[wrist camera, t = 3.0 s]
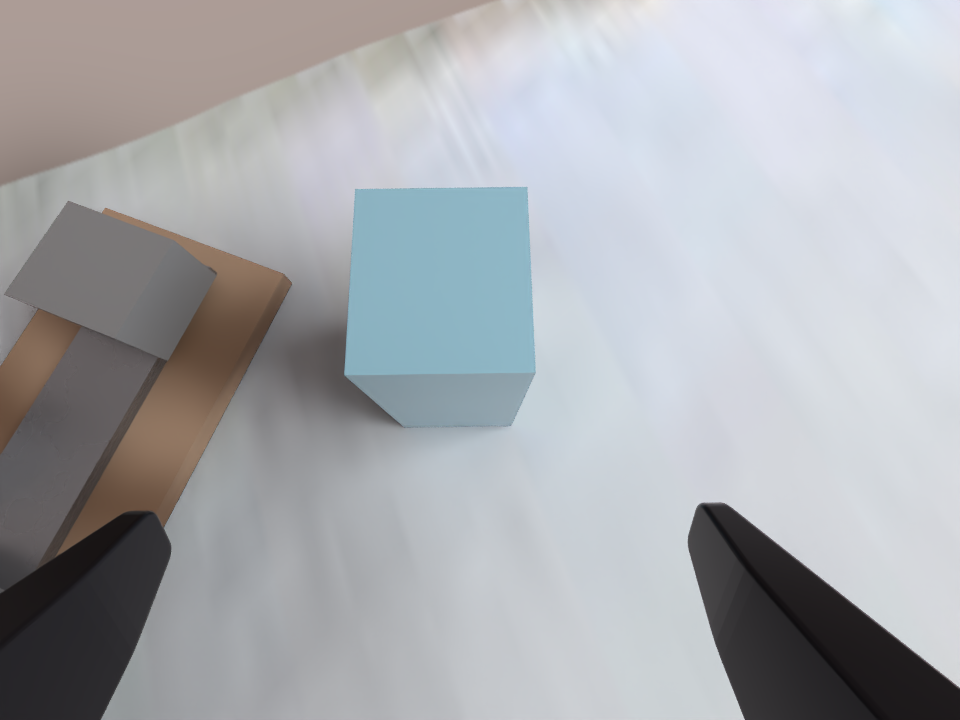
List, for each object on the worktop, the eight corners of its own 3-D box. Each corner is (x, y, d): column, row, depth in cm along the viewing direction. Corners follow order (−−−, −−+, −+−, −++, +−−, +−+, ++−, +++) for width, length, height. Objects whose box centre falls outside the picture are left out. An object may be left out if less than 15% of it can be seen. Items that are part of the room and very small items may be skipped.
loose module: (507, 314, 22) (526, 187, 13) (511, 426, 21) (535, 372, 12) (407, 315, 22) (354, 189, 13) (404, 427, 21) (344, 375, 12)
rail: (145, 245, 22) (136, 239, 21) (217, 272, 22) (210, 266, 21) (-122, 675, 17) (-143, 682, 17) (-37, 718, 17) (-56, 726, 17)
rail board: (121, 219, 23) (105, 207, 22) (291, 283, 22) (283, 273, 22) (-168, 665, 18) (-204, 674, 17) (37, 767, 18) (11, 784, 17)
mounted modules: (124, 240, 21) (68, 200, 18) (216, 275, 21) (174, 240, 18) (-149, 669, 17) (-278, 705, 14) (-40, 723, 17) (-150, 772, 14)
